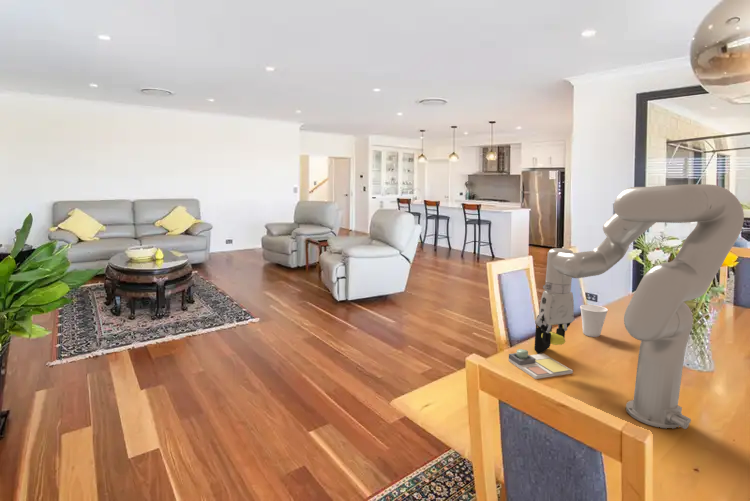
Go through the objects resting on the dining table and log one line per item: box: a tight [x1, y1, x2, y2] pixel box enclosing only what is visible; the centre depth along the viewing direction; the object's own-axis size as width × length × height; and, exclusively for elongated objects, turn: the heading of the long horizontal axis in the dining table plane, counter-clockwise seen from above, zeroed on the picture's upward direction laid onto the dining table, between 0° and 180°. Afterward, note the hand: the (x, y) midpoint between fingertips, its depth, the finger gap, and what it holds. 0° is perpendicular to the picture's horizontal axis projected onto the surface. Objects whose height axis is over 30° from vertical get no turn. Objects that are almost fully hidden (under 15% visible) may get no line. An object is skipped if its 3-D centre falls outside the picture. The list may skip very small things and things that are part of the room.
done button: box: [516, 348, 529, 359], centre depth 143 cm, size 4×4×2 cm
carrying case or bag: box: [533, 314, 553, 354], centre depth 152 cm, size 11×3×15 cm, turn 137°
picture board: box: [508, 352, 574, 380], centre depth 141 cm, size 14×14×2 cm
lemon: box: [541, 331, 566, 346], centre depth 138 cm, size 4×8×4 cm, turn 33°
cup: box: [579, 304, 609, 338], centre depth 170 cm, size 10×10×11 cm
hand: (552, 341), depth 138 cm, fingers closed on lemon, 4 cm apart
